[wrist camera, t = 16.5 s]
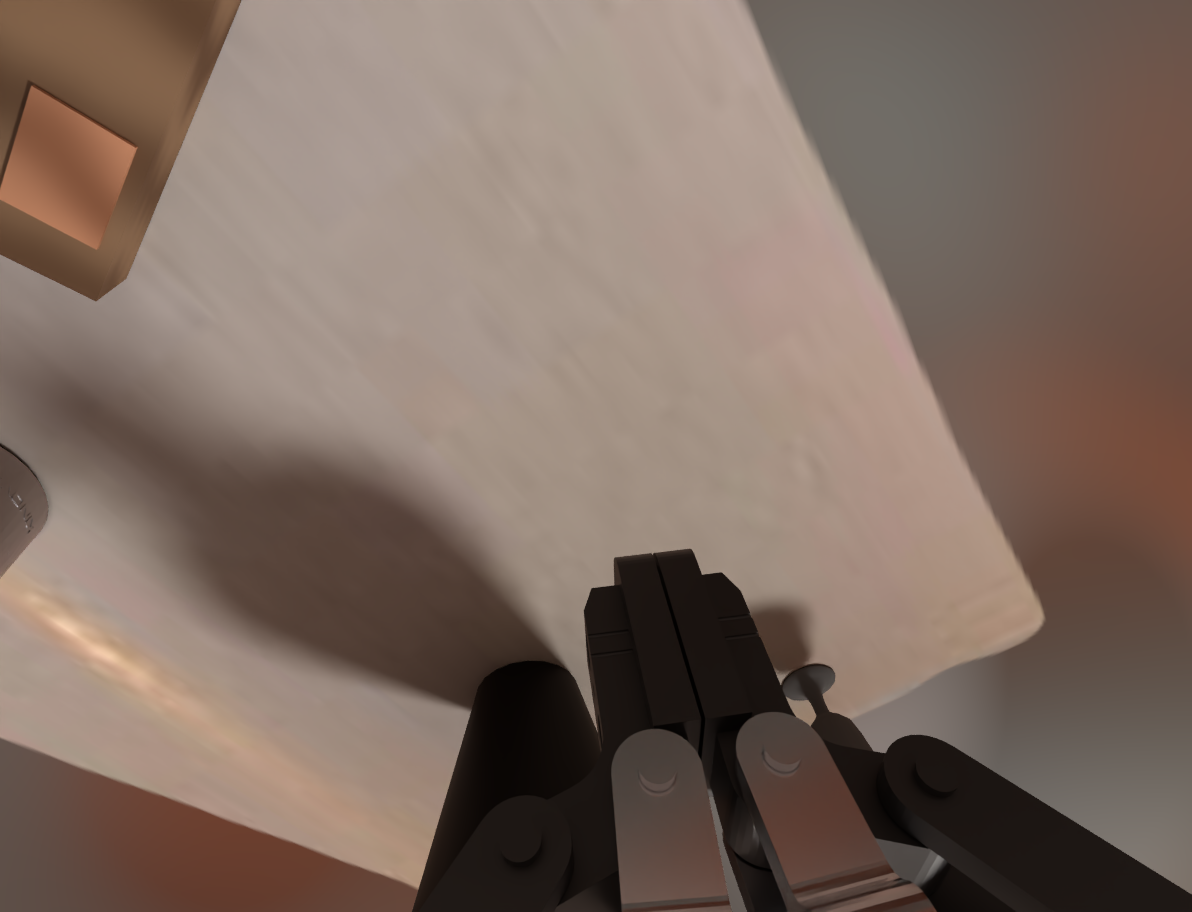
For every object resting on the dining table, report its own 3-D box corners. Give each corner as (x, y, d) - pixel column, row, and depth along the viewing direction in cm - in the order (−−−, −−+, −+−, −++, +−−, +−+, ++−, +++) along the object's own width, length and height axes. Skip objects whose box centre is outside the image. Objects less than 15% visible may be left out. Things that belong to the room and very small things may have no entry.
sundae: (760, 681, 58) (832, 862, 46) (829, 648, 57) (922, 826, 44) (787, 713, 62) (860, 890, 49) (853, 683, 60) (945, 857, 48)
